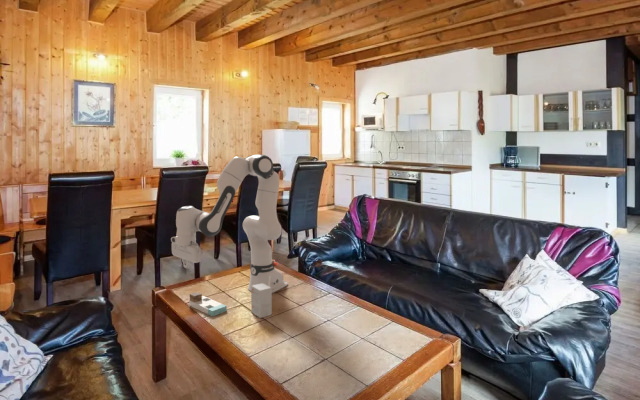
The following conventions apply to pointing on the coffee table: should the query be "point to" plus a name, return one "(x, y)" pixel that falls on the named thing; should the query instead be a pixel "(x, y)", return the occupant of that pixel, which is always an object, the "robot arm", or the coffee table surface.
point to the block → (195, 297)
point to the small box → (261, 300)
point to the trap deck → (209, 306)
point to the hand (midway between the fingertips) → (186, 267)
